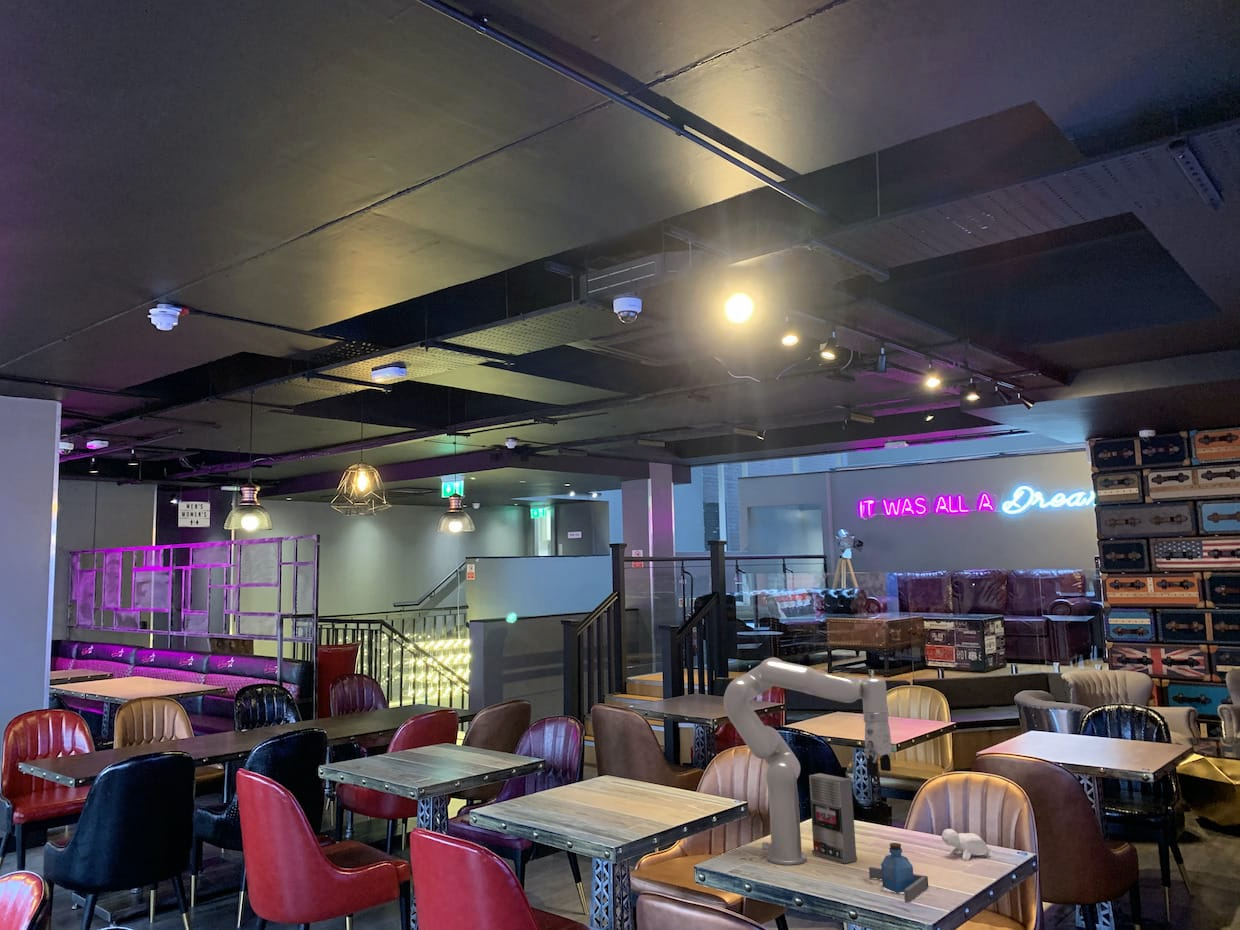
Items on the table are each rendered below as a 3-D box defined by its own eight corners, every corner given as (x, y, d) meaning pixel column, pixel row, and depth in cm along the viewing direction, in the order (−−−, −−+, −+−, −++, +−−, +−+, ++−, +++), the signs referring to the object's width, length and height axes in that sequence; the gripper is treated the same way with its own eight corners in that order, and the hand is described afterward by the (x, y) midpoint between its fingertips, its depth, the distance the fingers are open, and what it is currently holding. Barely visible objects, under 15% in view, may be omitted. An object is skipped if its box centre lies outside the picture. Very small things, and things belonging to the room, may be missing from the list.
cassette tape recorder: (811, 855, 287) (806, 775, 291) (824, 851, 290) (819, 773, 294) (844, 864, 275) (838, 781, 279) (857, 861, 279) (851, 779, 283)
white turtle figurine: (973, 861, 285) (932, 847, 283) (979, 835, 287) (939, 820, 285) (989, 869, 277) (947, 854, 275) (995, 841, 278) (954, 827, 277)
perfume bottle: (914, 889, 250) (911, 845, 251) (897, 893, 247) (893, 848, 249) (900, 883, 255) (896, 840, 257) (882, 886, 253) (879, 843, 255)
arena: (850, 891, 251) (849, 879, 251) (871, 877, 263) (870, 866, 263) (909, 902, 240) (908, 890, 241) (928, 887, 252) (927, 876, 252)
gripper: (875, 721, 271) (878, 779, 268) (898, 715, 284) (901, 770, 281) (852, 719, 275) (856, 776, 273) (876, 713, 288) (879, 767, 286)
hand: (879, 773), depth 277 cm, fingers open, 9 cm apart
